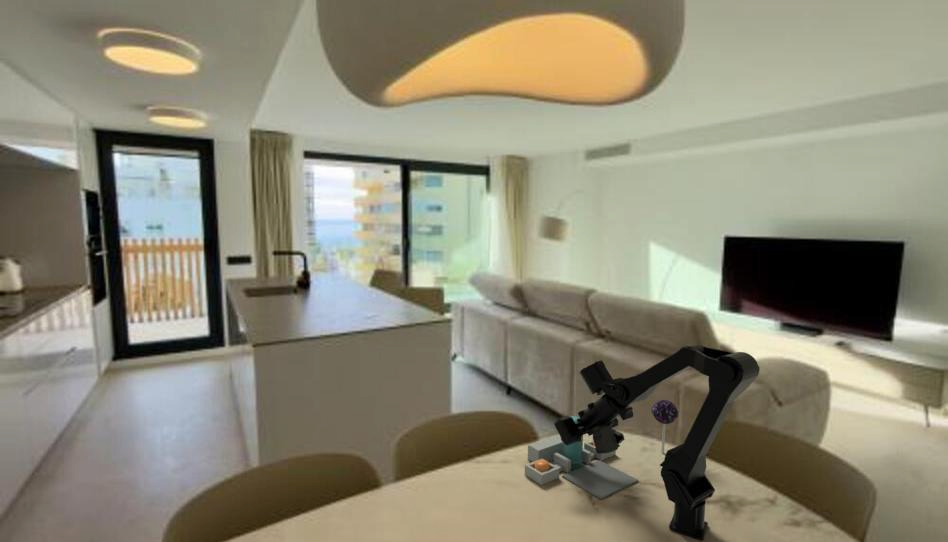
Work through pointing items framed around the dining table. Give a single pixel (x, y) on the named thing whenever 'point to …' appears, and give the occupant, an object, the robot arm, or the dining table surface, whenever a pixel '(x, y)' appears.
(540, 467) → the left plunger
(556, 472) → the housing
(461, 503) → the dining table surface
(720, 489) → the dining table surface
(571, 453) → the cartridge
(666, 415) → the lollipop
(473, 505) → the dining table surface
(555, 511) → the dining table surface
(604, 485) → the mat
